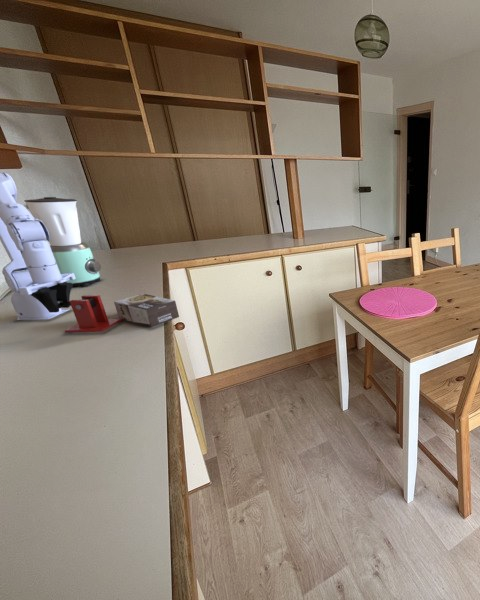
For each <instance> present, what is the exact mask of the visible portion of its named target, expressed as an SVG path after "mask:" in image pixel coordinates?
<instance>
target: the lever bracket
mask: <svg viewBox="0 0 480 600" xmlns="http://www.w3.org/2000/svg"><path fill="white" fill-rule="evenodd" d="M81 299H94V301H95V304H96V306H95V307H93V308H91V305H90V302H89V300H81ZM81 299H71V300H70V301H69V302H70V304H71V306H70V307H71V309H72V312H73V314H74V317H75V320H76V323H77V324H75V325H73V326H71V327H69V328H67V329H65V330H64V331H65V332H64V333H66V334H69V333H104V332H105V331H107V330H108V329H110V328H112V327H113V326H115V325H117V324H119V323H120V322H123V319H120V318H108V315H107V312H106V309H105V307H104V306H105V305H104V304H103V300H102V297H101V295H100V294H83V295H81Z"/></svg>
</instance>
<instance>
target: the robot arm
mask: <svg viewBox="0 0 480 600" xmlns="http://www.w3.org/2000/svg"><path fill="white" fill-rule="evenodd" d="M17 200H18V188H17V185H16V183H15V181H14V179H13V177H12V176H11V175H10V174H8V173H7V172H0V243H1V244H2V247H3V248H4V250H5V252H6V254H7V256H8V257H9V260H10V262H9V263H7V264H6V265H5V266H4V267H3V268H2V275H3V277H4V280H5V283H6V285H7V287H8V288H9V290H10V291H11V292H13V293H12V295H11V297H10V302H11V304H12V307H13V309H14V311H15V313H16V315H17V318H16V319H15V320H16V321H19V320H21V321H22V320H27V321H28V320H50V319H52V318H54V317H57V316H59V315H61V314H64V313H66V312H68V311H70V310H71V309H70V307H71V306H63V307H62V308H60V309H59V307H58V303H57V300H56V299H61V300H63V301H64V302H69V301H71V300H70V298H71V291H72V288H73V287H74V286H73V285H72V283H67V282H66V281H69V280H74V279H76V278H75V275H74V273H65V274H62V275H61V274H60V271H59V269H58V266H57V263H56V261H55V258H54V256H53V253H52V250H51V248H50V243H49V242H48V241H50V236H49V232H48V230H47V228H46V226H45V225H44V223H43V222H42V221H41V220H38V219H35V218H34V217H33V216H32V214H31V212H30V211H29V209H28V210H27V208H26V207H25V206H23V205H24V204H21V203H19V202H17Z"/></svg>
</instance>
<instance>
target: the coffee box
mask: <svg viewBox="0 0 480 600" xmlns="http://www.w3.org/2000/svg"><path fill="white" fill-rule="evenodd" d="M113 303H114V306H115V310H116V314H117V316H118V319H122V320H124V321H127V322H131V323H134V324H137V325H142V326H145V327H148V328H153V327H156V326H159V325H162V324H164V323H167V322H170V321H173V320H175V319H178V318H180V313H179V311H178V310H179V309H178V307H177V302H176V300H173V299H170V298H164V297H160V296H156V295H151V294H147V293H140V294H137V295H132V296H129V297H126V298H122V299H119V300H115V301H114V302H113Z"/></svg>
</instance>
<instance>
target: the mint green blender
mask: <svg viewBox="0 0 480 600" xmlns="http://www.w3.org/2000/svg"><path fill="white" fill-rule="evenodd" d="M23 201H24V202H25V204H22V205H23V206H25V207H26V208H27V210H28V211H29V212H30V213H31V215H32V216H33V217H34V218H35V219H38V220H41V221H42V222H43V223H44V225H45V226H46V228H47V230H48V232H49V236H50V241H47V242H49V245H50V248H51V250H52V253H53V256H54V258H55V261H56V263H57V266H58V269H59V271H60V274H61V275H62V274H65V273H74V275H75V278H76V279H74V280H69V281H66V282H67V283H72V285H73V286H72V287H76V286H77V287H78V286H81V288H86V287H88V286H89V284H93V283H95V282H100V281H101V274H100V271H101V269H102V265H101V263H100V262H99V261H96V260H95V257H94V255H93V252H92V249H91V248H90V246H89V245H88V244H86V243H85V242H82V236H81V228H80V222H79V221H80V220H79V213H78V209H77V202H78V200H77V199H75V198H61V197H56V196H44V197H42V198H36V199H35V198H33V199H25V200H23Z"/></svg>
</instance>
